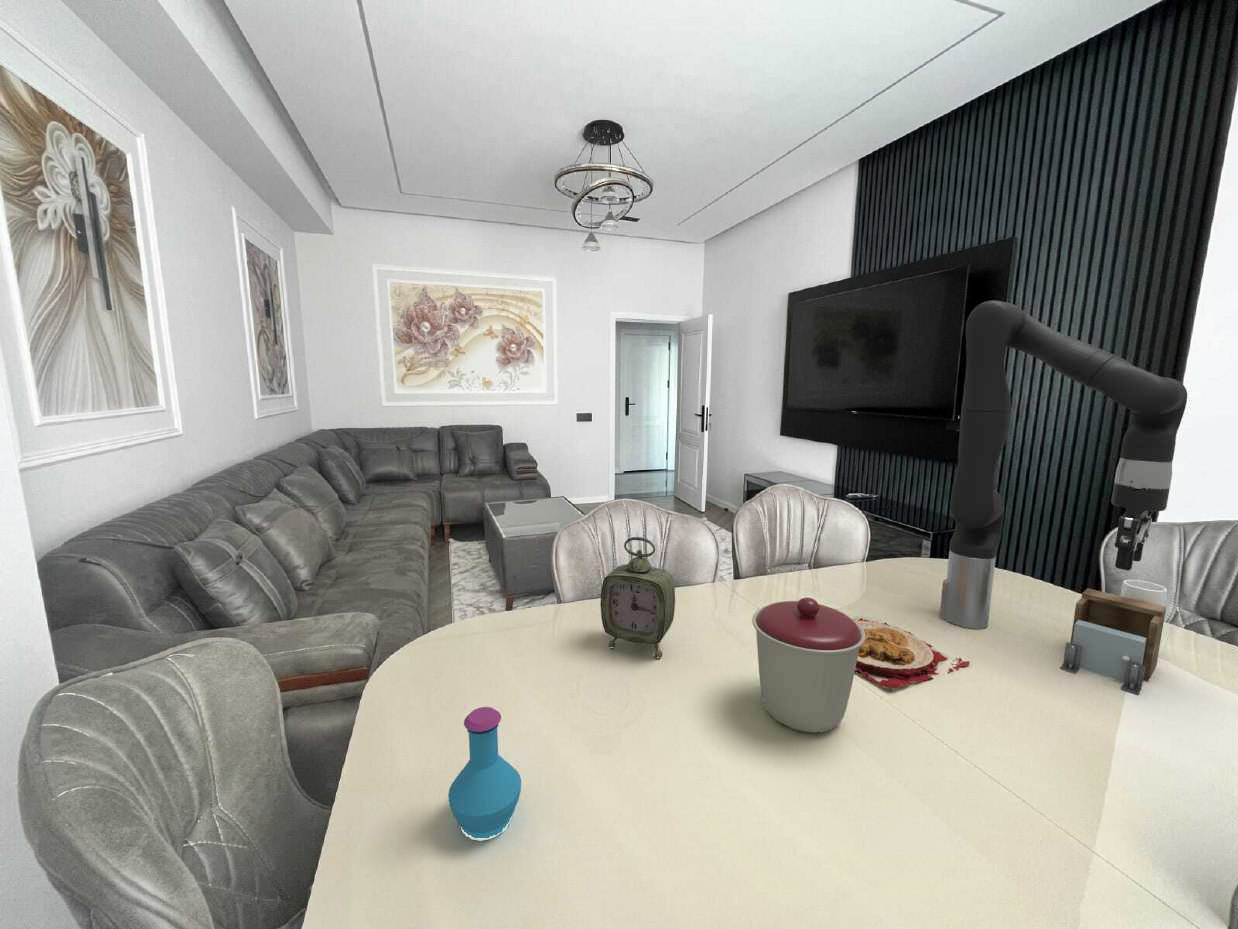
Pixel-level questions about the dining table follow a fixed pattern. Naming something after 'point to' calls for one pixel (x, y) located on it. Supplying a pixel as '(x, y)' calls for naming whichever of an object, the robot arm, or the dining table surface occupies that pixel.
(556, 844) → the dining table surface
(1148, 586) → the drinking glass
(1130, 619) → the cabinet
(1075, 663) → the hinge clips
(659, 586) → the tabletop clock
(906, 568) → the dining table surface
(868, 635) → the plate with food
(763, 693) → the canister
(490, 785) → the perfume bottle
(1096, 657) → the door
